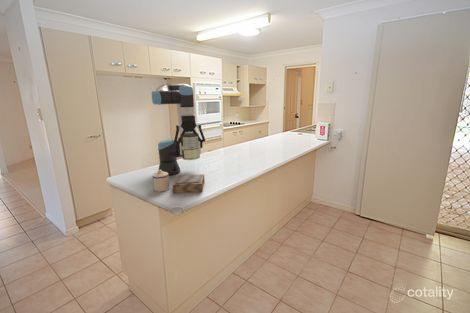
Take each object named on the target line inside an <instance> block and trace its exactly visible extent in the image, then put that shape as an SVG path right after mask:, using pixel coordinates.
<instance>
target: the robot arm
mask: <svg viewBox="0 0 470 313" xmlns="http://www.w3.org/2000/svg"><path fill="white" fill-rule="evenodd" d="M194 95H195V94H194V87H193V86H192V85H189V84H187V83H166V84H162V85H159V86H158V87H156V89H155V90H152V91H151V101H152V104H153V105H156V106H157V105H158V106H160V105H176V112H177V120H178V124H177V125H175V129H176V130H175V136H174V138H170V139H169V138H168V139H165V140H161V141H159V142H158V144H157V145H158V148H157V149H158V160H159V166H158V170H162V171H164V172H167V173H168V174H169V175H168V176H174V175H179V173H181V167H180V165H179V163H178V159H177V158H182V148H181V136H180V134H181V135H184V134H185V133H192V132H193V133H194V134H197V133H198V131H199V133H200V134H199V135H198V140H199V154H200V155H202V149H203V143H204V142H206V138H205V135H204V132H203V129H202V124H200V123H199V124H197V123H196V115H195V113H196V111H195V101H194V99H195V98H194V97H195V96H194ZM196 127H197V129H198V131H197V130H196ZM158 170H157V171H158Z"/></svg>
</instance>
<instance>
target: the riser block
mask: <svg viewBox="0 0 470 313" xmlns="http://www.w3.org/2000/svg"><path fill="white" fill-rule="evenodd" d="M204 185H205V173H202V174H199V173H198V174H177V176H176V178H175V180H174V182H173V183H172V191H173V192H172V193H173V194H185V193H186V194H187V193H190V194H191V193H202V192H203V190H204Z"/></svg>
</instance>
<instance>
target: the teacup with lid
mask: <svg viewBox="0 0 470 313" xmlns="http://www.w3.org/2000/svg"><path fill="white" fill-rule="evenodd" d="M151 177H152V181H153V190H154V191H155V192H156V193H157V192H159V193H160V192H166V191H168V190H169V189H170V188H171V186H170V179H169V178H170V175H169V174H168V173H167V172H164V171H162V170H157V171H156V172H155V173H153V174H152V176H151Z"/></svg>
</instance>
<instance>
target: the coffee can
mask: <svg viewBox="0 0 470 313" xmlns="http://www.w3.org/2000/svg"><path fill="white" fill-rule="evenodd" d="M199 133H200V132H197V134H194V133H193V131H192V133H185V134H184V135H181V134H180V133H179V137H180V136H181V148H182V157H181V159H182V160H183V161H195V160H198V159H200V158H201V154H199V140H198V135H199V136H200V134H199Z"/></svg>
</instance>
